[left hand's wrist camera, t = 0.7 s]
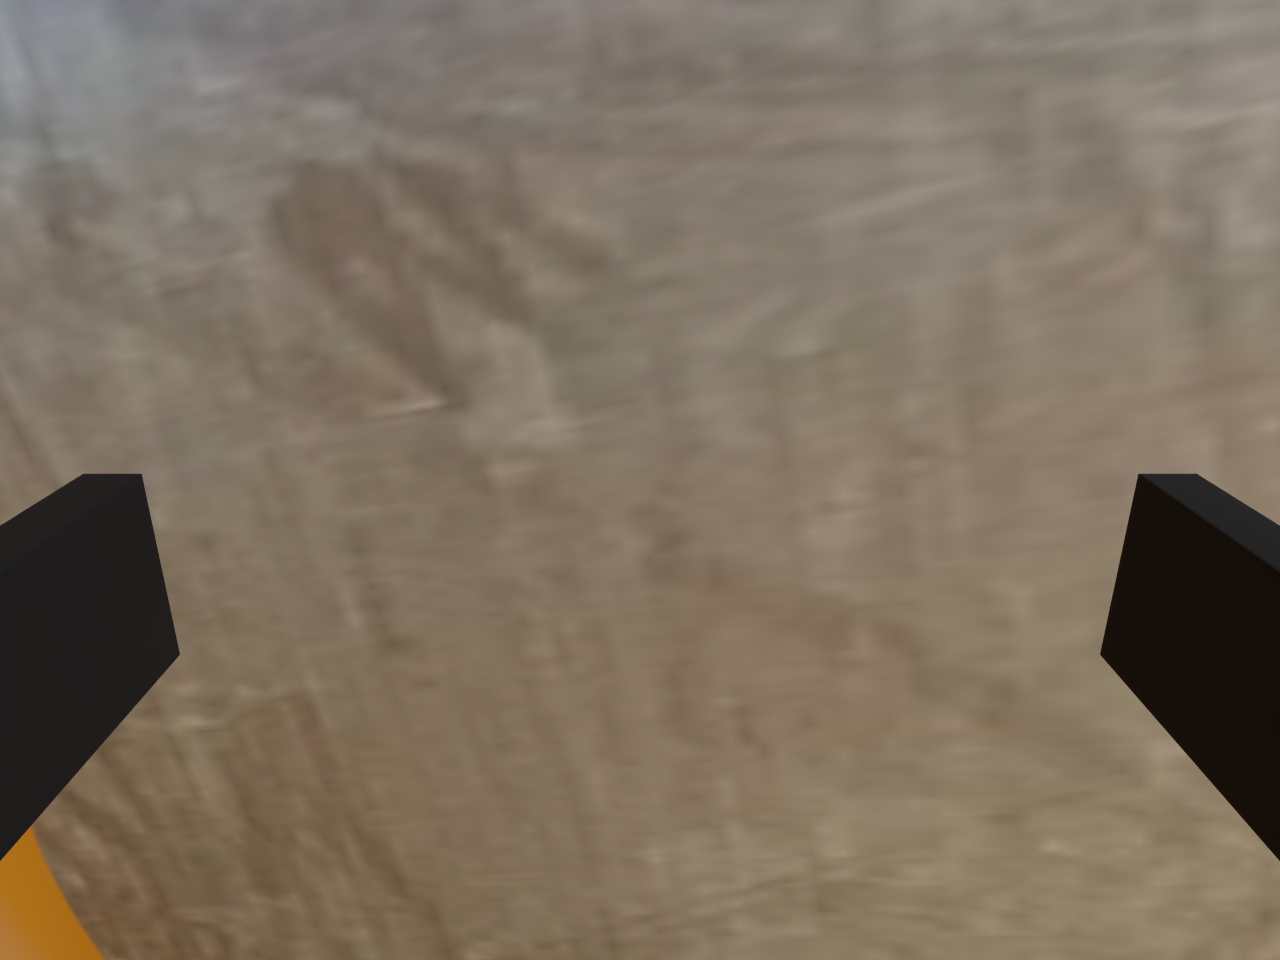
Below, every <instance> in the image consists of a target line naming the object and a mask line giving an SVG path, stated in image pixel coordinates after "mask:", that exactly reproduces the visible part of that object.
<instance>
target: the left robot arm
mask: <svg viewBox="0 0 1280 960" xmlns="http://www.w3.org/2000/svg"><path fill="white" fill-rule="evenodd" d="M179 655H180V653H179V648H178V643H177V639H176V634H175V629H174V625H173V620H172V615H171V610H170V606H169V601H168V596H167V592H166V587H165V582H164V577H163V573H162V568H161V563H160V559H159V554H158V549H157V544H156V540H155V535H154V530H153V526H152V521H151V516H150V512H149V507H148V502H147V497H146V493H145V488H144V483H143V479H142V474H82V475H81V476H79V477H78V478H76V479H74V480H73V481H71V482H70V483H68V484H66V485H65V486H63V487H62V488H60V489H58V490H57V491H55V492H54V493H52V494H50V495H49V496H47V497H46V498H44V499H42V500H41V501H39V502H38V503H36V504H34V505H33V506H31V507H30V508H28V509H26V510H25V511H23V512H22V513H20V514H18V515H17V516H15V517H14V518H12V519H10V520H9V521H7V522H6V523H4V524H2V525H1V526H0V861H1V859H2V858H3V857H4V856H5V855H6V854H7V853H8V851H9V850H10V849H11V848H12V847H13V846H14V844H15V843H16V842H17V841H18V840H19V839H20V838H21V836H22V835H23V834H24V833H25V832H26V831H27V830H28V828H29V827H30V826H31V825H32V824H33V823H34V821H35V820H36V819H37V818H38V817H39V816H40V815H41V813H42V812H43V811H44V810H45V809H46V808H47V807H48V805H49V804H50V803H51V802H52V801H53V800H54V799H55V797H56V796H57V795H58V794H59V793H60V792H61V790H62V789H63V788H64V787H65V786H66V785H67V784H68V782H69V781H70V780H71V779H72V778H73V777H74V776H75V774H76V773H77V772H78V771H79V770H80V769H81V768H82V766H83V765H84V764H85V763H86V762H87V761H88V759H89V758H90V757H91V756H92V755H93V754H94V753H95V751H96V750H97V749H98V748H99V747H100V746H101V745H102V743H103V742H104V741H105V740H106V739H107V738H108V736H109V735H110V734H111V733H112V732H113V731H114V730H115V728H116V727H117V726H118V725H119V724H120V723H121V722H122V720H123V719H124V718H125V717H126V716H127V715H128V714H129V712H130V711H131V710H132V709H133V708H134V707H135V705H136V704H137V703H138V702H139V701H140V700H141V699H142V697H143V696H144V695H145V694H146V693H147V692H148V691H149V689H150V688H151V687H152V686H153V685H154V684H155V683H156V681H157V680H158V679H159V678H160V677H161V676H162V674H163V673H164V672H165V671H166V670H167V669H168V668H169V666H170V665H171V664H172V663H173V662H174V661H175V660H176V658H177V657H178V656H179ZM1100 655H1101V656H1102V657H1103V658H1104V660H1105V661H1106V662H1107V663H1108V664H1109V665H1110V666H1111V668H1112V669H1113V670H1114V671H1115V672H1116V673H1117V674H1118V676H1119V677H1120V678H1121V679H1122V680H1123V681H1124V683H1125V684H1126V685H1127V686H1128V687H1129V688H1130V689H1131V691H1132V692H1133V693H1134V694H1135V695H1136V696H1137V697H1138V699H1139V700H1140V701H1141V702H1142V703H1143V704H1144V705H1145V707H1146V708H1147V709H1148V710H1149V711H1150V712H1151V714H1152V715H1153V716H1154V717H1155V718H1156V719H1157V720H1158V722H1159V723H1160V724H1161V725H1162V726H1163V727H1164V728H1165V730H1166V731H1167V732H1168V733H1169V734H1170V735H1171V736H1172V738H1173V739H1174V740H1175V741H1176V742H1177V743H1178V745H1179V746H1180V747H1181V748H1182V749H1183V750H1184V751H1185V753H1186V754H1187V755H1188V756H1189V757H1190V758H1191V759H1192V761H1193V762H1194V763H1195V764H1196V765H1197V766H1198V768H1199V769H1200V770H1201V771H1202V772H1203V773H1204V774H1205V776H1206V777H1207V778H1208V779H1209V780H1210V781H1211V782H1212V784H1213V785H1214V786H1215V787H1216V788H1217V789H1218V790H1219V792H1220V793H1221V794H1222V795H1223V796H1224V797H1225V799H1226V800H1227V801H1228V802H1229V803H1230V804H1231V805H1232V807H1233V808H1234V809H1235V810H1236V811H1237V812H1238V813H1239V815H1240V816H1241V817H1242V818H1243V819H1244V820H1245V821H1246V823H1247V824H1248V825H1249V826H1250V827H1251V828H1252V830H1253V831H1254V832H1255V833H1256V834H1257V835H1258V836H1259V838H1260V839H1261V840H1262V841H1263V842H1264V843H1265V844H1266V846H1267V847H1268V848H1269V849H1270V850H1271V851H1272V853H1273V854H1274V855H1275V856H1276V857H1277V858H1278V859H1279V861H1280V526H1279V525H1278V524H1276V523H1274V522H1273V521H1271V520H1270V519H1268V518H1266V517H1265V516H1263V515H1262V514H1260V513H1258V512H1257V511H1255V510H1254V509H1252V508H1250V507H1249V506H1247V505H1246V504H1244V503H1242V502H1241V501H1239V500H1238V499H1236V498H1234V497H1233V496H1231V495H1230V494H1228V493H1226V492H1225V491H1223V490H1222V489H1220V488H1218V487H1217V486H1215V485H1214V484H1212V483H1210V482H1209V481H1207V480H1206V479H1204V478H1202V477H1201V476H1199V475H1198V474H1138V479H1137V483H1136V488H1135V493H1134V497H1133V502H1132V507H1131V512H1130V516H1129V521H1128V526H1127V530H1126V535H1125V540H1124V544H1123V549H1122V554H1121V559H1120V563H1119V568H1118V573H1117V577H1116V582H1115V587H1114V592H1113V596H1112V601H1111V606H1110V610H1109V615H1108V620H1107V625H1106V629H1105V634H1104V639H1103V643H1102V648H1101V653H1100Z"/></svg>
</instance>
